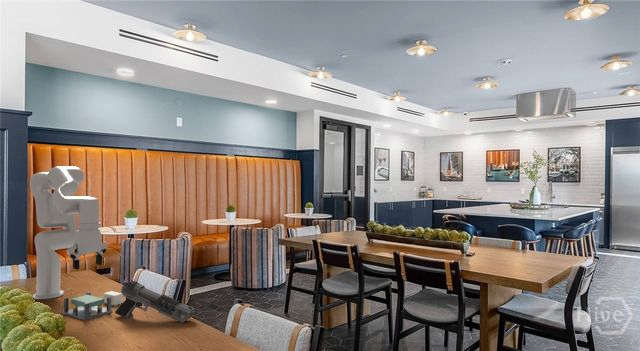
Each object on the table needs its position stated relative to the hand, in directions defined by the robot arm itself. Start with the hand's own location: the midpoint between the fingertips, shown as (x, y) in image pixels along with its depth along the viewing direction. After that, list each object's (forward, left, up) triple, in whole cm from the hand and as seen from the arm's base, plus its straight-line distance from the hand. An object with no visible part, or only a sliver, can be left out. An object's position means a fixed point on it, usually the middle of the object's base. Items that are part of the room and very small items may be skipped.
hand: (87, 266), depth 169 cm
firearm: (+31, +9, -20) cm, 38 cm away
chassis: (0, 0, -20) cm, 20 cm away
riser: (-3, +13, -20) cm, 24 cm away
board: (0, 0, -16) cm, 16 cm away
